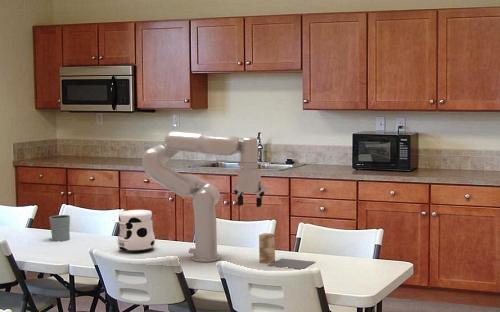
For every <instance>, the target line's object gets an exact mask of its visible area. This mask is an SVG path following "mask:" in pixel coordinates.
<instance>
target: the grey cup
mask: <svg viewBox="0 0 500 312" xmlns="http://www.w3.org/2000/svg"><path fill="white" fill-rule="evenodd" d="M70 217H71V216H70V215H68V214H60V215H59V214H57V215H51V216H49V218H48V219H49V224H50V231H51V232H50V233H51V240H53V242H57V241H60V242H67V241H69V240H70V236H71V235H70V232H71V231H70V224H71V218H70Z"/></svg>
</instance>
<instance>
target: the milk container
mask: <svg viewBox="0 0 500 312" xmlns="http://www.w3.org/2000/svg"><path fill="white" fill-rule="evenodd" d="M118 213H119V214H118V236H117V245H118V249H119V250H121V251H124V252H127V253H142V252H146V251H150V250H152V249H153V248H154V247H155V243H156V242H155V241H156V238H155V233H154V230H153V228H154V227H153V213H152V210H147V209H130V210H123V211H120V212H118Z"/></svg>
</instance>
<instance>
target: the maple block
mask: <svg viewBox="0 0 500 312" xmlns="http://www.w3.org/2000/svg"><path fill="white" fill-rule="evenodd" d="M275 236H276V235H275V233H268V232H263V233H261V234H259V235H258V240H259V241H258V248H259V249H258V252H259V254H258V255H259V258H258V259H259V263H262V264H269V263H270V264H271V263H273V262H275V261H276V242H275V241H276V240H275Z"/></svg>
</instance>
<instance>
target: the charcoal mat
mask: <svg viewBox="0 0 500 312" xmlns="http://www.w3.org/2000/svg"><path fill="white" fill-rule="evenodd" d="M315 263H316V261H311V260H303V259H293V258H280V259H278V260H275V261H274V262H272V263H270V264H269V263H268V264H267V265H266V266H267V267H272V266H276V267H275V268H281V267H288V268H287V269H291V268H294V270H300V269H303V270H304V269H307V268H308V267H309V266H311V265H314V264H315Z"/></svg>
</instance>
